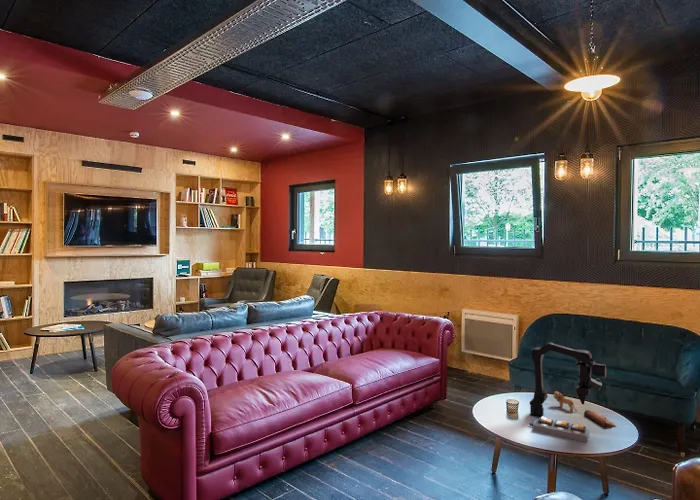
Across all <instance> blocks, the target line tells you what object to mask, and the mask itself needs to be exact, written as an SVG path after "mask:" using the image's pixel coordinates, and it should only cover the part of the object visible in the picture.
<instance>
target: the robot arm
mask: <svg viewBox="0 0 700 500" xmlns="http://www.w3.org/2000/svg"><path fill="white" fill-rule="evenodd" d="M550 351H552V352H555V353H558V354H561V355H565V356H567V357H572V358H574V359H575V360H577V361H576V362H575V366H578V376H577V378H578V382H577V385H578V386H576V388H575V393H576V394H577V396H578V398H579V401H580V402H581V405H585V402H586V399H587V397H588V396H589V395H590V390H591V388H593V389H596V390H597V391H600V390H601V388H602V386H603V383H602V382H601V379H600V378H592V376H591V375H593V376H594V377H601V378H604V379H606V377H607V372H608V371H607V365H606V364H604V363H603V364H602V363H596V360H594V358H593V355H592V352H590V351H589V350H586V349H574V348H570V347H567V346H563V345H560V344H556V343H553V342H552V341H549V342H547V343H546V344H544V345H542V346H541V347H539V346H536V347H535V348H533V349H532V350H531V351H530V356H531V360H532V362H533V367H534V368H533V369H534V381H535V382H534V383H535V384H534V385H535V390H534V391H533V392H534V394H533V398H532V399H531V400H530V401H529V405H530V410H529V412H530V413H529V416H531V417H536V418H540V417H542V416H543V417H544V414H545V412H544V409H545V408H544V407H543V406H544V405H543V404H544V403H545V402H546V400H547V399H548V397H549V396H548V390H547V389H545V388H544V377H543V376H544V375H543V374H544V373H543V362H544V361H543V360H544V356H545V354H546V353H548V352H550Z"/></svg>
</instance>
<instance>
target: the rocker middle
mask: <svg viewBox="0 0 700 500" xmlns="http://www.w3.org/2000/svg"><path fill="white" fill-rule="evenodd" d="M556 421H557V422H556V424H558V425H565V426H566V425H567V423H568V421H567V420H556Z"/></svg>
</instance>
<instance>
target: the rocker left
mask: <svg viewBox="0 0 700 500" xmlns="http://www.w3.org/2000/svg"><path fill="white" fill-rule="evenodd" d="M539 419H540V418H539ZM540 420H541V421H544V422H548V423H551V422H552V420H553V419H550V418H548V417H546V416H544V415H543V416H542V417H541V419H540Z"/></svg>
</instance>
